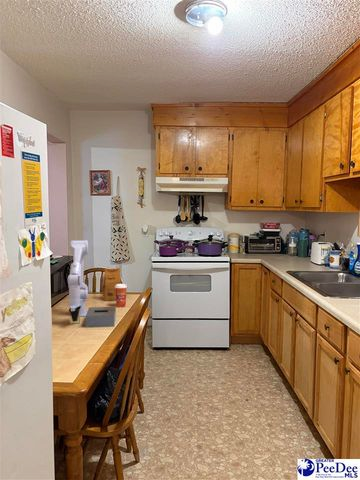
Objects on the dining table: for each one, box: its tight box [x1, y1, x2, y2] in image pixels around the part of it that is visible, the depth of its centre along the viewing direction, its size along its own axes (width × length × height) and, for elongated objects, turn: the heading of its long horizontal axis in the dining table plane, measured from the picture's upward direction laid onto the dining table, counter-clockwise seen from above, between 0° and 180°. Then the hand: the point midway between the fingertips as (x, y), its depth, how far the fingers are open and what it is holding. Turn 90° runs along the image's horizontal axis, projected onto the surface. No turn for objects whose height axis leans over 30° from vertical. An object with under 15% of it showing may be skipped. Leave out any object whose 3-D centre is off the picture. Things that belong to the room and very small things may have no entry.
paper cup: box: [115, 283, 128, 308], centre depth 227 cm, size 8×8×14 cm
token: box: [69, 315, 81, 325], centre depth 192 cm, size 2×5×4 cm, turn 98°
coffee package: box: [102, 267, 122, 302], centre depth 243 cm, size 10×12×22 cm
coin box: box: [84, 306, 117, 328], centre depth 195 cm, size 17×15×6 cm
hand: (75, 320), depth 193 cm, fingers closed on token, 2 cm apart
